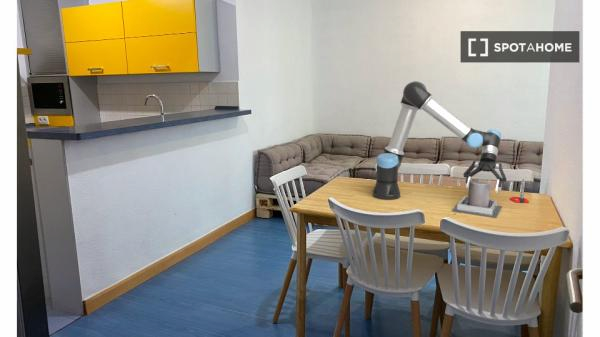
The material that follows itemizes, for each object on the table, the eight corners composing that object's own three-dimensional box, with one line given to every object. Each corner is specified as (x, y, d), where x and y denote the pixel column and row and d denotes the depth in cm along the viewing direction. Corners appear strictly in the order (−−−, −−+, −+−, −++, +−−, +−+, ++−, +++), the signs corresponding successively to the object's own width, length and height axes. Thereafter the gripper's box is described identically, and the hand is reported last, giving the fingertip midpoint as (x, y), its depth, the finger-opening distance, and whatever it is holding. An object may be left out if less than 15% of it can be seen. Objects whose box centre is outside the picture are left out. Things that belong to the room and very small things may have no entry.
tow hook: (507, 198, 222) (513, 202, 213) (509, 175, 220) (515, 178, 211) (523, 199, 221) (530, 203, 212) (525, 175, 219) (532, 179, 210)
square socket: (452, 211, 201) (452, 204, 201) (460, 202, 216) (460, 195, 215) (496, 218, 191) (497, 210, 190) (501, 207, 205) (502, 200, 205)
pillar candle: (464, 205, 208) (466, 176, 205) (484, 205, 208) (486, 176, 204) (471, 211, 199) (473, 181, 196) (491, 211, 198) (494, 181, 195)
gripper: (515, 162, 210) (509, 197, 201) (464, 157, 224) (456, 190, 215) (515, 153, 205) (508, 189, 196) (463, 149, 218) (454, 183, 209)
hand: (481, 190), depth 205 cm, fingers open, 13 cm apart
